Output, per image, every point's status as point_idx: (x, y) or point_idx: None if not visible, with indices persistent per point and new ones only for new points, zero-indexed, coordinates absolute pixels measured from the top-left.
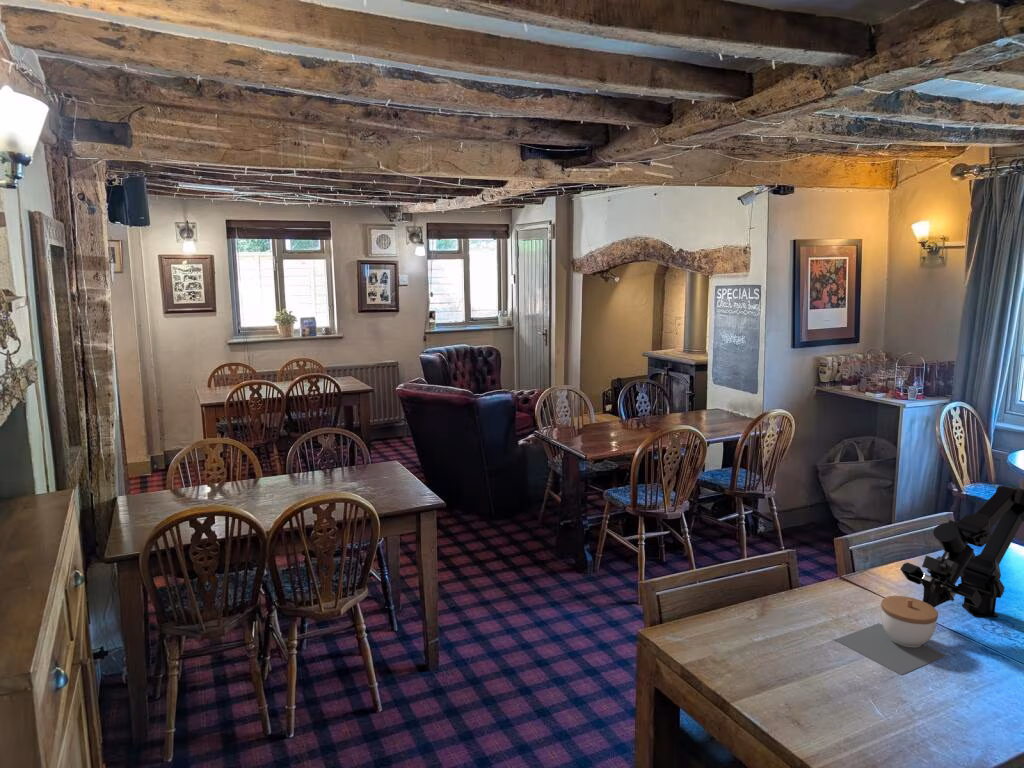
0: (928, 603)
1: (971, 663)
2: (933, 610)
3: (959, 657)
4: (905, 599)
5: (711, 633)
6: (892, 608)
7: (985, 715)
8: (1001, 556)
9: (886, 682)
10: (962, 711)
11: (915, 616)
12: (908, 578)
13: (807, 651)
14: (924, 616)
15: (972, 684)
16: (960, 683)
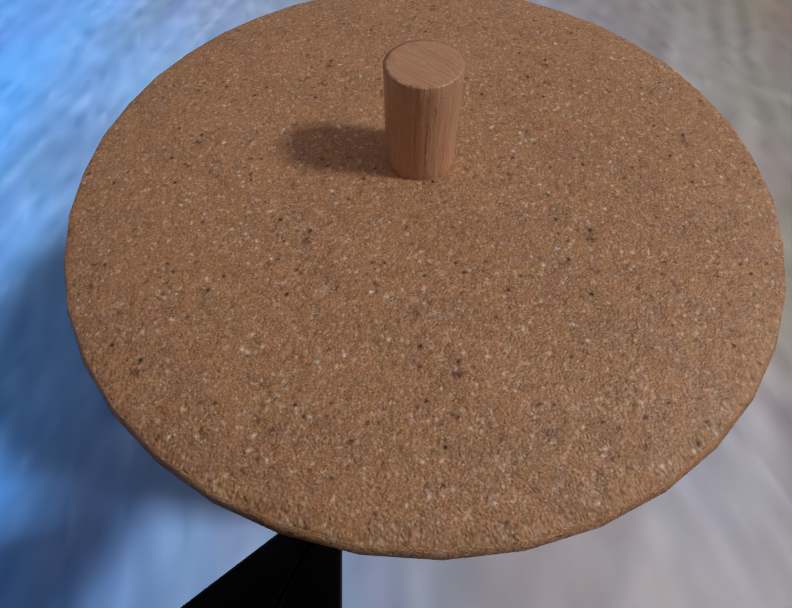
0: (220, 601)
1: (15, 359)
2: (114, 265)
3: (81, 384)
4: (560, 321)
5: None
6: (532, 26)
7: (33, 24)
8: None
9: None
10: (107, 5)
11: (296, 24)
12: None
13: (652, 3)
14: (215, 68)
15: (47, 161)
16: (100, 138)
